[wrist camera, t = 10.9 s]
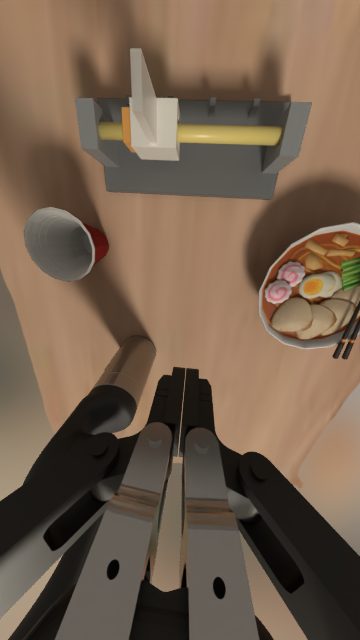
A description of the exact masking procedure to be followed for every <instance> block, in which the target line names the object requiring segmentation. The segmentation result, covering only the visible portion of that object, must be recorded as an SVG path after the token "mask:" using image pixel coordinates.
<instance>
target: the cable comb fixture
mask: <svg viewBox="0 0 360 640" xmlns="http://www.w3.org/2000/svg"><path fill="white" fill-rule="evenodd" d="M129 97H132V96H126V99H111V98H98V104H97V103H96V101H95V100H94V99H93V98H75V102H76V110H77V117H78V125H79V132H80V140H81V147H82V149H83V150H84V151H86V152H87V153H88V154H90V155H91V156H92V157H94V158H95V159H96V160H98V161H99V162H100V163H102V164H103V165H104V169H105V180H106V190H107V191H109V192H122V193H142V194H162V195H182V196H202V197H222V198H242V199H262V200H271V199H272V198H273V194H274V190H275V185H276V181H277V176H278V172H279V171H280V170H282V169H283V168H284V167H286V166H287V165H288V164H289V163H291V162H292V161H293V160H294V159H296V158H297V157H298V155H299V152H300V148H301V144H302V140H303V136H304V132H305V128H306V125H307V121H308V117H309V113H310V109H311V105H312V102H264V101H260V98H254V100H253V101H216V97H210V100H178V104H179V110H180V117H181V124H178V127H177V142H180V153H179V161H171V160H146V159H140V157H139V156H138V155H137V153H136V152H135V151H134V149H133V148H132V147H131V126H130V104H129ZM168 98H174V97H173V96H168Z"/></svg>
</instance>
